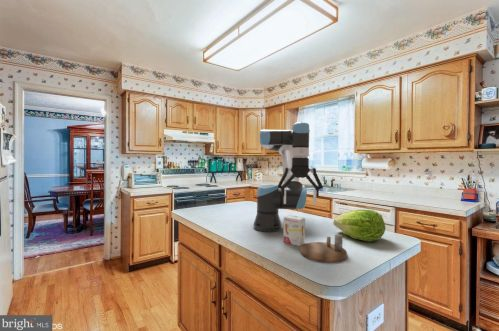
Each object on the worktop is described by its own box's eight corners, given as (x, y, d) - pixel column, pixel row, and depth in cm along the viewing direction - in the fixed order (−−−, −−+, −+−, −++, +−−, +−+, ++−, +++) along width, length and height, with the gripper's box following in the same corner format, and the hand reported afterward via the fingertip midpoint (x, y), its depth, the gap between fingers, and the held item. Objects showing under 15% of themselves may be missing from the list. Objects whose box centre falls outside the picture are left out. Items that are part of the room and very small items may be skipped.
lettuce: (346, 229, 138) (341, 204, 138) (393, 236, 118) (387, 206, 118) (327, 240, 128) (322, 213, 128) (375, 249, 108) (369, 216, 108)
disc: (302, 261, 94) (302, 241, 94) (298, 244, 112) (298, 227, 112) (352, 264, 92) (352, 243, 92) (340, 246, 110) (341, 229, 110)
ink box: (282, 242, 115) (283, 216, 115) (288, 239, 119) (288, 214, 118) (299, 246, 110) (300, 219, 109) (305, 243, 114) (305, 217, 113)
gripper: (273, 157, 112) (272, 204, 112) (330, 157, 111) (329, 205, 111) (272, 157, 119) (271, 201, 120) (325, 157, 118) (325, 202, 119)
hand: (299, 203), depth 116 cm, fingers open, 13 cm apart
